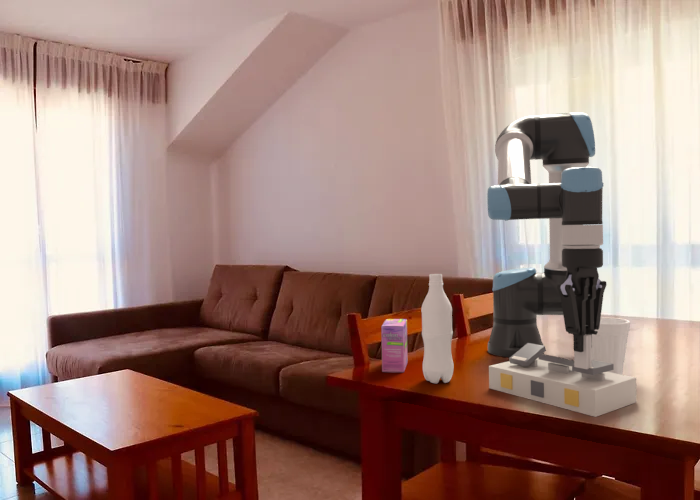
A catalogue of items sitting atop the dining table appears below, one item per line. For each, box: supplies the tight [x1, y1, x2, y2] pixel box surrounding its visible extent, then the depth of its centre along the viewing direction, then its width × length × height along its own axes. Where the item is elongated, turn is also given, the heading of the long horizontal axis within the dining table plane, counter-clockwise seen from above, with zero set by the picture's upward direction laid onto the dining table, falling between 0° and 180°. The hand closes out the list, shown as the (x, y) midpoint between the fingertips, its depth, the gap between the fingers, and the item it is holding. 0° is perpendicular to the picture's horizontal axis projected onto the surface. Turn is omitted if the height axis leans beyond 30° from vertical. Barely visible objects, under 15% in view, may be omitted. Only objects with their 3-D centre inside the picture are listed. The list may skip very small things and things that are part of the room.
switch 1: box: [508, 343, 547, 367], centre depth 134 cm, size 7×5×1 cm, turn 125°
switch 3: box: [572, 360, 614, 375], centre depth 121 cm, size 7×5×1 cm, turn 125°
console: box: [488, 357, 637, 418], centre depth 128 cm, size 14×26×6 cm, turn 35°
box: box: [380, 318, 409, 373], centre depth 156 cm, size 10×6×12 cm, turn 170°
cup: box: [592, 316, 631, 375], centre depth 141 cm, size 10×10×13 cm
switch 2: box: [538, 353, 574, 366], centre depth 128 cm, size 7×5×1 cm, turn 125°
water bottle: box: [420, 273, 455, 384], centre depth 141 cm, size 7×7×25 cm
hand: (582, 367), depth 119 cm, fingers closed
